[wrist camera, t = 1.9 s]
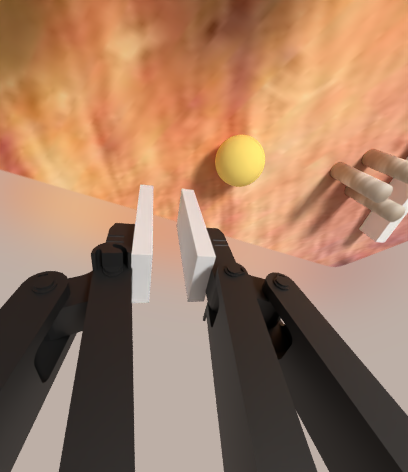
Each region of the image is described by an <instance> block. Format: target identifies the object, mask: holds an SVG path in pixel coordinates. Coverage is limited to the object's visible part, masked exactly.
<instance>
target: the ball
mask: <svg viewBox="0 0 408 472" xmlns="http://www.w3.org/2000/svg"><path fill="white" fill-rule="evenodd" d="M264 164H265V154H264V151H263V148H262V147H261V145H260V144H259V142H258V141H256V140H255V139H254V138H252V137H250V136H247V135H235V136H232V137H230V138H228V139H227V140H225V141H224V142H223V143H222V144H221V146H220V147H219V149H218V151H217V153H216V158H215V166H216V170H217V173H218V175H219V176H220V178H221V179H222V180H223V181H224V182H226V183H227V184H229V185H232V186H236V187H241V186H246V185H249V184H251V183H253V182H254V181H255V180H256V179H257V178H258V177H259V176H260V174H261V173H262V171H263V168H264Z"/></svg>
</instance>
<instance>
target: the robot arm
mask: <svg viewBox="0 0 408 472" xmlns="http://www.w3.org/2000/svg"><path fill="white" fill-rule="evenodd" d="M177 231H178V238H179V245H180V252H181V258H182V265H183V272H184V279H185V286H186V293H187V299H188V302H194V301H195V302H196V301H204V298H205V295H206V296H207V300H208V302H207V306H206V309H205V313H204V316H203V321H205V319H206V317H207V324H208V333H209V342H210V350H211V360H212V369H213V377H214V386H215V395H216V404H217V412H218V421H219V430H220V438H221V448H222V457H223V466H224V472H317V470H316V467H315V464H314V461H313V458H312V455H311V452H310V449H309V447H308V444H307V441H306V438H305V435H304V432H303V429H302V427H301V424H300V421H299V418H298V415H299V417H300V418H301V420H302V422H303V424H304V426H305V428H306V429H307V431H308V433H309V435H310V437H311V439H312V441H313V442H314V444H315V446H316V448H317V450H318V452H319V454H320V455H321V457H322V459H323V461H324V463H325V465H326V466H327V468H328V470H329V472H408V416H407V415H406V413H405V412H404V411H403V410H402V409H401V407H400V406H399V405H398V404H397V403H396V402H395V400H394V399H393V398H392V397H391V396H390V395H389V393H388V392H387V391H386V390H385V389H384V388H383V386H382V385H381V384H380V383H379V382H378V380H377V379H376V378H375V377H374V376H373V375H372V373H371V372H370V371H369V370H368V369H367V367H366V366H365V365H364V364H363V363H362V362H361V360H360V359H359V358H358V357H357V356H356V354H354V352H353V351H352V350H351V349H350V347H349V346H348V345H347V344H346V343H345V342H344V340H343V339H342V338H341V337H340V336H339V334H337V332H336V331H335V330H334V329H333V328H332V326H331V325H330V324H329V323H328V321H327V320H326V319H325V318H324V317H323V316H322V314H321V313H320V312H319V311H318V310H317V309H316V307H315V306H314V305H313V304H312V303H311V301H310V300H309V299H308V298H307V297H306V296H305V294H304V293H303V292H302V291H301V290H300V288H299V287H298V286H297V285H296V284H295V283H294V282H293V281H292V280H291V279H290V278H289V277H287V276H285V275H283V274H280V273H270V274H268V276H267V277H266V279H262V278H258V277H254V276H251V275H248V273H247V271H246V269H245V268H244V267H243V266H242V265H240V264H238V263H236V262H235V259H234V257H233V255H232V252H231V250H230V248H229V246H228V243H227V241H226V238H225V236H224V234H223V233H222V232H221V231H220V230H219V229H217V228H206V226H205V223H204V220H203V217H202V214H201V211H200V208H199V205H198V202H197V199H196V196H195V193H194V190H189V189H182V190H181V197H180V205H179V212H178V219H177ZM152 249H153V186H150V185H140V191H139V199H138V207H137V215H136V223H135V224H123V223H115V224H114V225H113V226H112V227H111V228H110V229H109V233H108V237H107V240H106V243H103V244H100V245H98V246H97V247H95V248H94V249H93V251H92V253H91V259H92V267H93V271H91V272H90V273H88V274H85V275H82V276H78V277H73V278H68V279H67V276H65V275H64V274H63V273H60V272H56V271H46V272H42V273H38V274H36V275H33V276H31V277H29V278H28V279H27V280H26V281H25V282H23V283H22V284H21V286H20V287H19V288H18V289H17V290H16V291H15V293H14V294H13V295H12V296H11V297H10V298H9V299H8V301H7V302H6V303H5V304H4V305H3V306H2V307H1V309H0V472H11V470H12V468H13V465H14V463H15V461H16V459H17V457H18V455H19V453H20V451H21V449H22V447H23V444H24V443H25V440H26V438H27V436H28V434H29V432H30V430H31V428H32V426H33V424H34V421H35V420H36V417H37V415H38V413H39V411H40V409H41V407H42V405H43V403H44V401H45V398H46V396H47V394H48V392H49V390H50V388H51V386H52V384H53V382H54V380H55V378H56V375H57V373H58V371H59V369H60V367H61V365H62V363H63V361H64V359H65V357H66V355H67V352H68V350H69V348H70V346H71V344H72V342H73V340H74V338H75V336H76V333H78V332H80V331H83V333H82V339H81V345H80V350H79V357H78V363H77V368H76V374H75V380H74V386H73V392H72V397H71V403H70V409H69V415H68V421H67V427H66V432H65V438H64V444H63V451H62V456H61V462H60V468H59V472H135V456H134V454H135V452H134V401H133V400H134V398H133V345H132V344H133V342H132V303H149V296H150V295H149V294H150V281H151V269H152V255H153V251H152ZM280 319H282V320H283V321H284V323H285V324H283V323H282V321H281V320H280ZM296 411H297V412H296ZM297 413H298V415H297Z"/></svg>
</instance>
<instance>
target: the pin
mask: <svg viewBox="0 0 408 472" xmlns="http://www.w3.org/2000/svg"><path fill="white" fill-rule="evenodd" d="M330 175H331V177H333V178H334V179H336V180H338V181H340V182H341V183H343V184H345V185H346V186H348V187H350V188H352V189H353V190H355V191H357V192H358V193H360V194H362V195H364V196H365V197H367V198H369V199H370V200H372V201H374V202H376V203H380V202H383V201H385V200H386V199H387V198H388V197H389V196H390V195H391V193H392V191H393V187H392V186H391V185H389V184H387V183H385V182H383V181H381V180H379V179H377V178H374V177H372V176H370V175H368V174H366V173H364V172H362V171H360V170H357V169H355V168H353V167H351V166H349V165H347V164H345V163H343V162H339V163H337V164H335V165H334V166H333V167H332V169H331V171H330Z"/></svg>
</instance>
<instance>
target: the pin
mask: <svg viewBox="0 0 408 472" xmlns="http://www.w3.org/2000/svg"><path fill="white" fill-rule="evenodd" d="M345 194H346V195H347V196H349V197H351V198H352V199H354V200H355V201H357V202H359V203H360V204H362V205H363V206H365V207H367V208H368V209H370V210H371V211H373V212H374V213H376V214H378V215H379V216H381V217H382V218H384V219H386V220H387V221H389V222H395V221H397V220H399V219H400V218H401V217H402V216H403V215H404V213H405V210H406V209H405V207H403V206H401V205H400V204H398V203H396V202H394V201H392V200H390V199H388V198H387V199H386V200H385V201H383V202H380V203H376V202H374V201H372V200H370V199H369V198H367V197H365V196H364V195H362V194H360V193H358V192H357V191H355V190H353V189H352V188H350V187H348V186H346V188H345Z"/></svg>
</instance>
